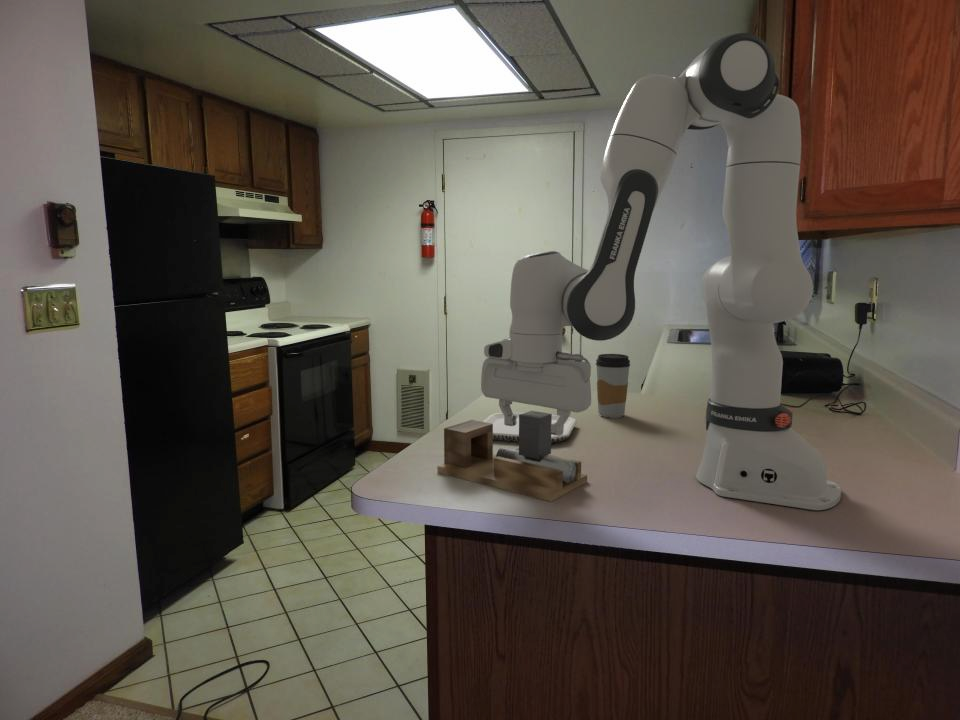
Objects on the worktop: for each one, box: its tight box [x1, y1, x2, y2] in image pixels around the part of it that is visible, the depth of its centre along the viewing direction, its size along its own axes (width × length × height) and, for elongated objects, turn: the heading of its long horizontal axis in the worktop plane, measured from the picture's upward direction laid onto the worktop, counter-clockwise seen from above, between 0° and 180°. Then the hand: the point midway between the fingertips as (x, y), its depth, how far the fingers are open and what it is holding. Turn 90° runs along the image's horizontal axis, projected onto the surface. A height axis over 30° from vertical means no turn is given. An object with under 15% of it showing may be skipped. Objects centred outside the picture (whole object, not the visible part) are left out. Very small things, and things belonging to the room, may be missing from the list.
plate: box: [482, 411, 578, 444], centre depth 146 cm, size 21×21×2 cm
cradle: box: [437, 419, 588, 503], centre depth 114 cm, size 24×12×8 cm, turn 52°
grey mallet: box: [495, 410, 576, 483], centre depth 111 cm, size 14×4×11 cm, turn 52°
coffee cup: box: [595, 353, 631, 419], centre depth 160 cm, size 8×8×15 cm
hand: (533, 429), depth 111 cm, fingers open, 8 cm apart
